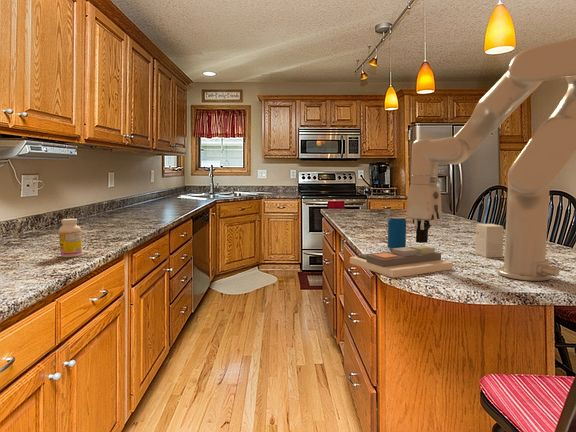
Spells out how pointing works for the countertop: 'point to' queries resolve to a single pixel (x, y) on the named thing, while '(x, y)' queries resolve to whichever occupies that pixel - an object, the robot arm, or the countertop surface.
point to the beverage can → (396, 232)
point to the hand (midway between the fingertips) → (421, 242)
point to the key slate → (404, 251)
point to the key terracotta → (385, 255)
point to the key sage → (423, 249)
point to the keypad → (402, 264)
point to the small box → (489, 240)
